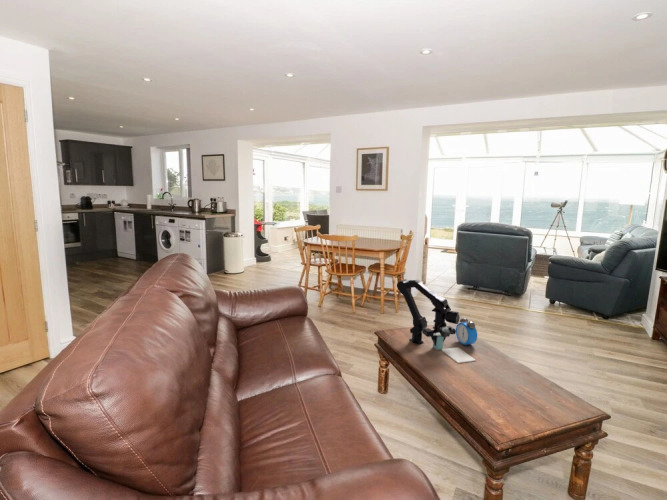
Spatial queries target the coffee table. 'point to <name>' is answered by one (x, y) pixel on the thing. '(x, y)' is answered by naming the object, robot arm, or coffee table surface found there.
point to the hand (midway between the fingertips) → (438, 345)
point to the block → (439, 342)
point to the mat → (458, 355)
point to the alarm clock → (466, 332)
